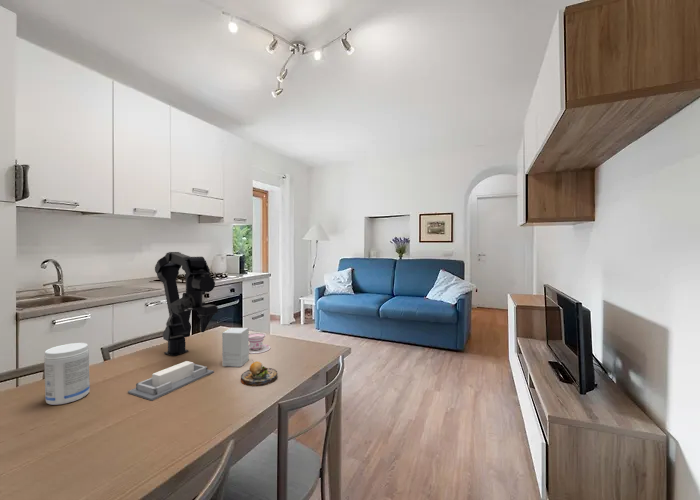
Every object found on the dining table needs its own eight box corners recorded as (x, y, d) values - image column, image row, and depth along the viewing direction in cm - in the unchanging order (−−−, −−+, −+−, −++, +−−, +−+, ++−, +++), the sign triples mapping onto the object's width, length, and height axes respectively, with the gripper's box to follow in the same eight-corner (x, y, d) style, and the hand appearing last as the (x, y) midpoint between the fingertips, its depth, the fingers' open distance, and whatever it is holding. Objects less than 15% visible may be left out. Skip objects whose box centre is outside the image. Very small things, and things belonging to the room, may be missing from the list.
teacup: (262, 343, 143) (262, 329, 143) (275, 350, 134) (275, 335, 134) (236, 349, 135) (236, 334, 134) (248, 356, 126) (248, 341, 126)
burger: (281, 382, 103) (282, 359, 103) (244, 390, 97) (245, 366, 97) (271, 369, 113) (271, 349, 113) (237, 376, 107) (237, 354, 107)
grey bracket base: (127, 393, 94) (127, 385, 94) (191, 367, 114) (191, 360, 114) (151, 400, 89) (151, 392, 89) (213, 372, 109) (213, 365, 109)
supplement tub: (93, 387, 97) (93, 340, 97) (83, 401, 88) (83, 350, 88) (52, 394, 93) (52, 344, 92) (37, 409, 84) (37, 355, 84)
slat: (152, 386, 97) (152, 373, 97) (186, 372, 108) (186, 360, 108) (159, 388, 95) (159, 375, 95) (193, 374, 106) (193, 362, 106)
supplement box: (249, 360, 122) (249, 327, 121) (240, 367, 114) (241, 333, 114) (231, 359, 122) (231, 327, 122) (221, 366, 115) (221, 332, 115)
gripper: (157, 290, 115) (157, 333, 115) (193, 294, 107) (193, 339, 107) (184, 287, 125) (184, 326, 125) (218, 290, 117) (218, 331, 118)
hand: (194, 330), depth 119 cm, fingers open, 9 cm apart
